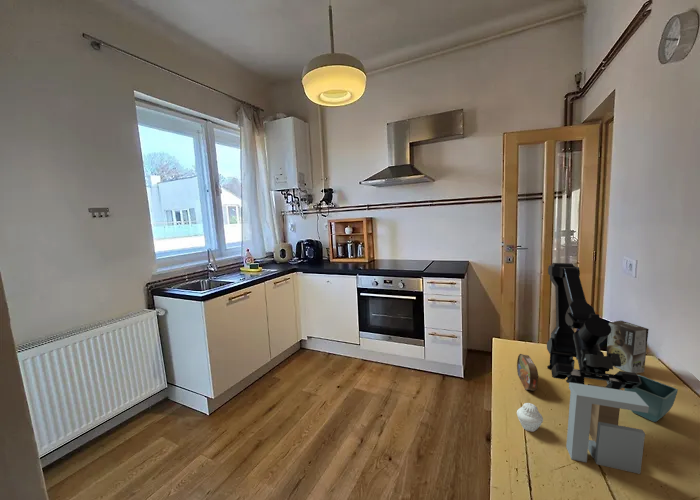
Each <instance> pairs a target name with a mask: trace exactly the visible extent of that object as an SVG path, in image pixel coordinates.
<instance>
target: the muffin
mask: <svg viewBox="0 0 700 500" xmlns="http://www.w3.org/2000/svg"><path fill="white" fill-rule="evenodd" d="M516 416H517V419H518V420H519V422H520V426H521V427H522V428H523V429H524V430H525V431H527V432H531V433H532V432H535V431H537V430H538V429H539V428H540V426H542V424H543V421H544V417H543V416H542V414H541V413H540V412H539V410H538V407H537V406H536V405H535V404H533V403H530V402H525V403H523V405H522V406H521V407H519V408H518V409H517V411H516Z"/></svg>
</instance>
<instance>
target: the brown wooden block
mask: <svg viewBox="0 0 700 500" xmlns="http://www.w3.org/2000/svg"><path fill="white" fill-rule="evenodd" d="M587 385H591V386H598V387H604V388H607V387H606V385H598V384H591V383H587ZM620 410H621V408H615V407H609V406H603V405H597V404H592V409H591V420H590V431H589V437H590V438H591V440H593V441H595V442H596V441H597V430H598V422H603V423H608V424H614V425H619V418H620Z"/></svg>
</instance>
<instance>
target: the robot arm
mask: <svg viewBox="0 0 700 500" xmlns="http://www.w3.org/2000/svg"><path fill="white" fill-rule="evenodd" d="M547 274H548V275H549V280H550V281H551V284H553V285H554V287H555V291H554V293H555V327H554V329H553V330H552V331H551V333H550V337H549V339H548V341H547V343H546V350H547V352H548V354H549V365H547V366H546V367H547V369H548V370H551V378H553V379H558V380H565V382H566V383H568V384H569V382H571V383H577V384H584V385H586V384H585V379H592V380H596V381H605V382H606V384H607V385H605V386H606V387H607V388H611V389H618V390H622V389H625V388H626V389H634V388H636V387H637V386H639V385H641V384H642V383H641V379H640V377H639V376H638V375H639V374H638V373H632V372H626V371H623V370H619V371H618V372H616V373H615V374H614V373H613V374H611V373H608V372H609V371H610V370H614V367H615V366H617V367H621V359H620V356H619V354H613V353H608V356H606V355H605V354H604V351H601V346H600V344H601V343H603V342H604V341H605V340H606V339H607V338H608V335H609V334H610V333H611V326H610V325H609V322H607V321H606V320H605V319H602V317H601V318H600V314H597V313H596V311H595V308H594V307H593V306H592V305H591V304H590V303H588V301H587V299H586V296H585V292H584V289H583V285H582V281H581V278H580V276H581V275H580V274H581V272H580V267H579V266H576V265H574V263H567V262H552V264H551V265H548V267H547ZM574 329H577V330H576V331H575V330H574ZM574 358H576V360H577V363H578V369H577V368H576V369H575V359H574ZM617 367H616V368H617Z"/></svg>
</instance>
